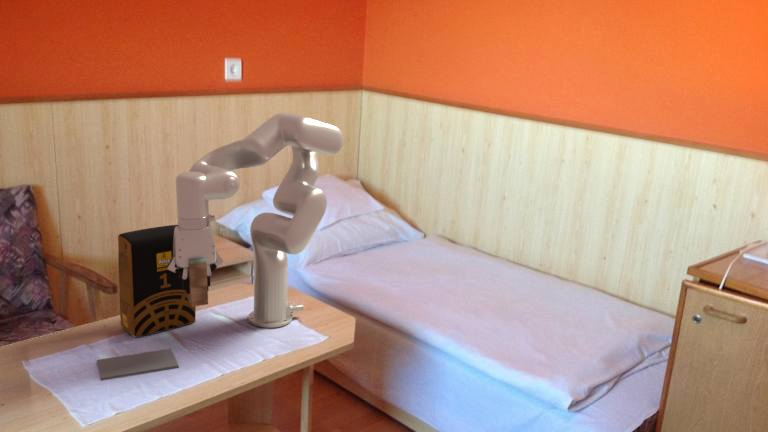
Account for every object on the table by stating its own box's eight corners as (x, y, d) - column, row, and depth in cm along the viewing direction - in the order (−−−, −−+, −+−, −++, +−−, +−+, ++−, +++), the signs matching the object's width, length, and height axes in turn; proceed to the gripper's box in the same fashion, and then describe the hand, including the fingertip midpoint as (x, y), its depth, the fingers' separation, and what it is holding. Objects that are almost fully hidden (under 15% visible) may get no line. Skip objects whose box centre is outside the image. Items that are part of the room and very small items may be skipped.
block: (201, 294, 190) (199, 250, 186) (208, 304, 184) (206, 259, 181) (186, 296, 188) (184, 252, 185) (192, 306, 182) (190, 261, 179)
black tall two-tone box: (199, 323, 205) (198, 228, 198) (132, 340, 193) (128, 239, 185) (183, 310, 213) (180, 219, 205) (117, 326, 201) (112, 229, 193)
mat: (170, 350, 188) (170, 348, 188) (178, 367, 180) (178, 365, 180) (96, 361, 180) (96, 359, 180) (101, 380, 172) (101, 378, 172)
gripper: (223, 214, 187) (225, 280, 192) (156, 221, 180) (160, 289, 185) (230, 222, 180) (232, 291, 186) (161, 230, 173) (165, 301, 179)
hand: (196, 289), depth 185 cm, fingers closed on block, 4 cm apart
